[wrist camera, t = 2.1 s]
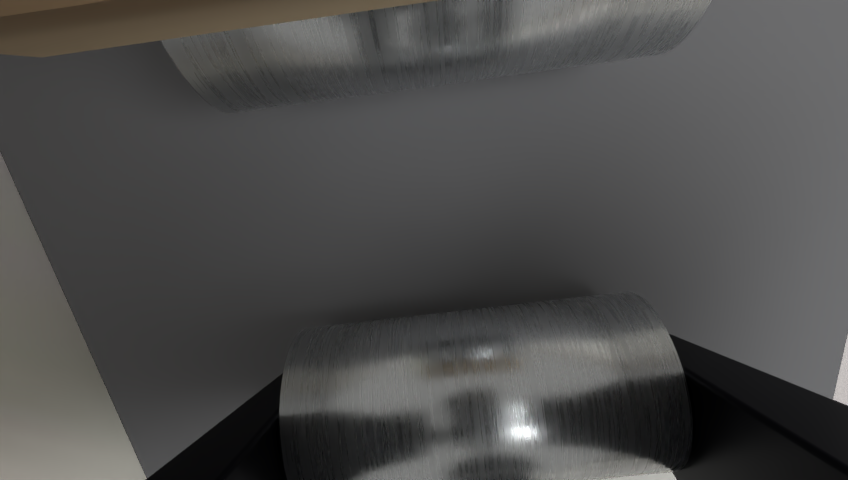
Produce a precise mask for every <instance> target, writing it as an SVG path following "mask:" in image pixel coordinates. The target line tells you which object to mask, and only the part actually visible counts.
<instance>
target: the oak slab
mask: <svg viewBox="0 0 848 480" xmlns="http://www.w3.org/2000/svg"><path fill="white" fill-rule="evenodd" d="M431 1H438V0H0V54H5V55H17V56H29V57H49V56H56V55H63V54H70V53H76V52H83V51H90V50H97V49H104V48H111V47H118V46H125V45H132V44H139V43H146V42H153V41H160V40H167V39H174V38H181V37H188V36H195V35H202V34H209V33H216V32H223V31H230V30H236V29H243V28H250V27H257V26H264V25H271V24H278V23H285V22H292V21H299V20H306V19H313V18H320V17H327V16H334V15H341V14H348V13H355V12H362V11H369V10H376V9H383V8H390V7H396V6H403V5H410V4H417V3H424V2H431Z"/></svg>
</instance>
